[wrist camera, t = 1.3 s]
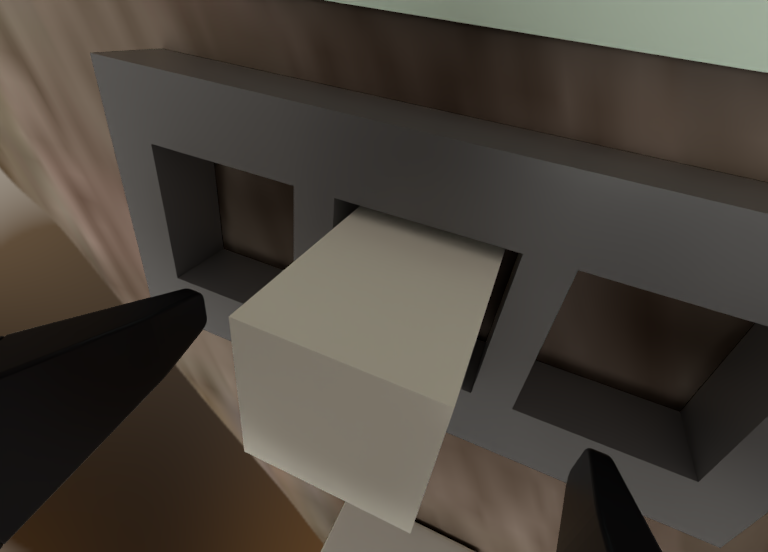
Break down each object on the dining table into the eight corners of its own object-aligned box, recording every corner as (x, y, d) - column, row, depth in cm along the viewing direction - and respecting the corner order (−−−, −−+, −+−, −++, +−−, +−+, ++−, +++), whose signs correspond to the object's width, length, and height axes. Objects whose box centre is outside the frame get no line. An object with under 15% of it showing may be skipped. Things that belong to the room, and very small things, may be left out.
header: (955, 223, 8) (1069, 285, 6) (699, 472, 13) (720, 548, 11) (161, 48, 13) (90, 52, 11) (198, 278, 18) (153, 308, 16)
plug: (513, 223, 12) (454, 407, 6) (477, 328, 14) (410, 533, 8) (383, 186, 12) (228, 316, 7) (369, 290, 15) (244, 451, 9)
